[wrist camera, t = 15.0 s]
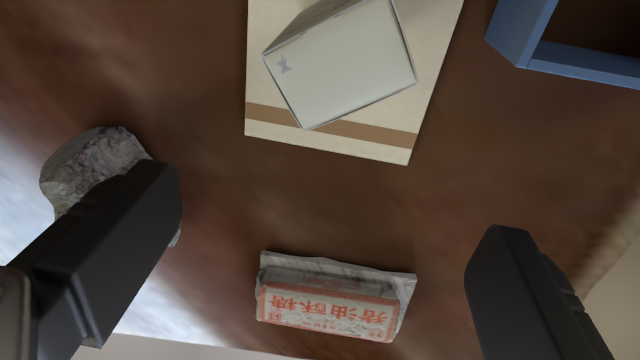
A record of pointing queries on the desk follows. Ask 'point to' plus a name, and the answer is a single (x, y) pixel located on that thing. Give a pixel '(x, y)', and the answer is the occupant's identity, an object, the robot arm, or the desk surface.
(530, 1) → the storage box
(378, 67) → the cosmetic box
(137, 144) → the mineral rock
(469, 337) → the desk surface
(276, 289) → the packaged product
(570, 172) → the desk surface
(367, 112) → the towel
